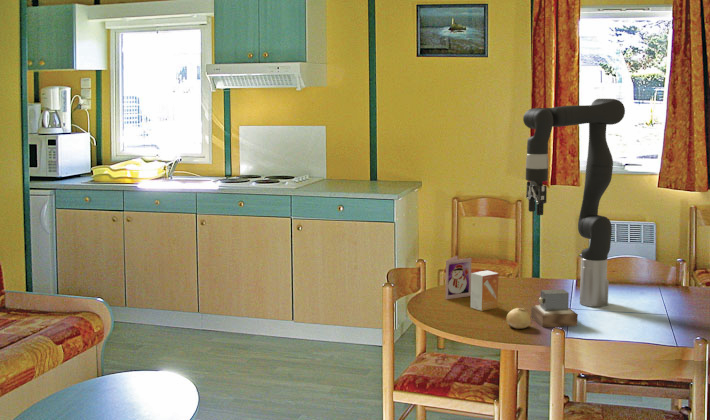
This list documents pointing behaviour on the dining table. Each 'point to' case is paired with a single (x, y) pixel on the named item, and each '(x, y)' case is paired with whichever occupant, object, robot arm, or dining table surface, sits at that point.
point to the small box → (484, 290)
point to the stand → (553, 317)
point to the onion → (518, 318)
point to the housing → (554, 300)
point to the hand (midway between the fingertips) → (535, 213)
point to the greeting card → (458, 277)
